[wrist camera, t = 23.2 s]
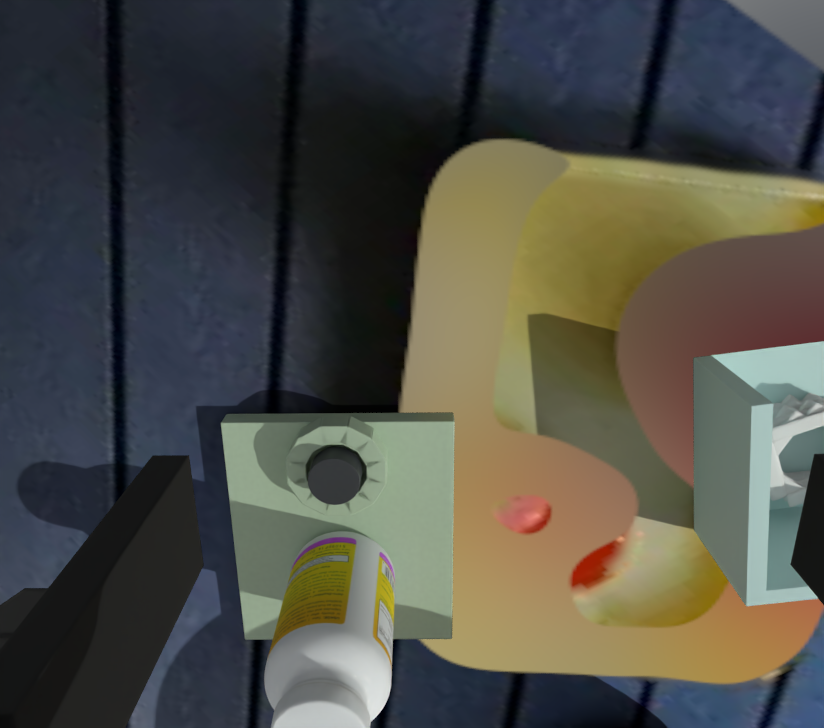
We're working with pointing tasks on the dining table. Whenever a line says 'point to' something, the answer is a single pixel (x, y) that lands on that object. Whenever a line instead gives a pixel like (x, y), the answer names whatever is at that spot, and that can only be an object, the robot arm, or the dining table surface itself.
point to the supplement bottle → (333, 636)
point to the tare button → (335, 475)
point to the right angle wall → (756, 462)
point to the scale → (344, 507)
